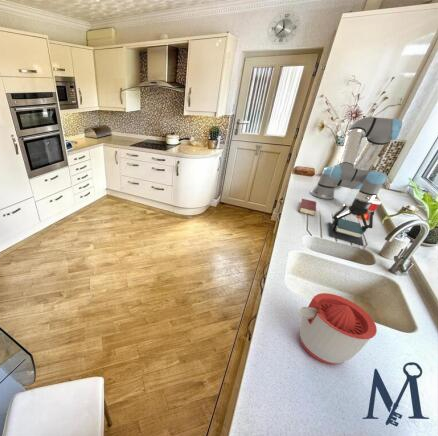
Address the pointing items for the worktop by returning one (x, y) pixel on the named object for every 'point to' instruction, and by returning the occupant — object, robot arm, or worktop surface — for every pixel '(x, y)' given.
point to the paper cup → (371, 208)
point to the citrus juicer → (334, 328)
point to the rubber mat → (344, 236)
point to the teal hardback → (349, 228)
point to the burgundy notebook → (307, 207)
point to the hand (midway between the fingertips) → (345, 232)
